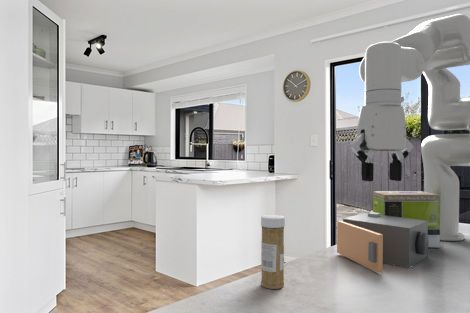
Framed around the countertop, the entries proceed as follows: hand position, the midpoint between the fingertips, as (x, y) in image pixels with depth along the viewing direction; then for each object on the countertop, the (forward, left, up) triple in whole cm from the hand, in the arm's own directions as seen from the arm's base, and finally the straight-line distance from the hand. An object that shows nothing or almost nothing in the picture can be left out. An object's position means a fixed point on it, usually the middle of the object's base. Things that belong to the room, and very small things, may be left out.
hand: (381, 180), depth 81 cm
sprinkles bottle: (+26, -10, -20) cm, 34 cm away
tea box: (-27, -4, -20) cm, 34 cm away
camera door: (+1, -5, -19) cm, 20 cm away
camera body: (-11, -3, -20) cm, 23 cm away
